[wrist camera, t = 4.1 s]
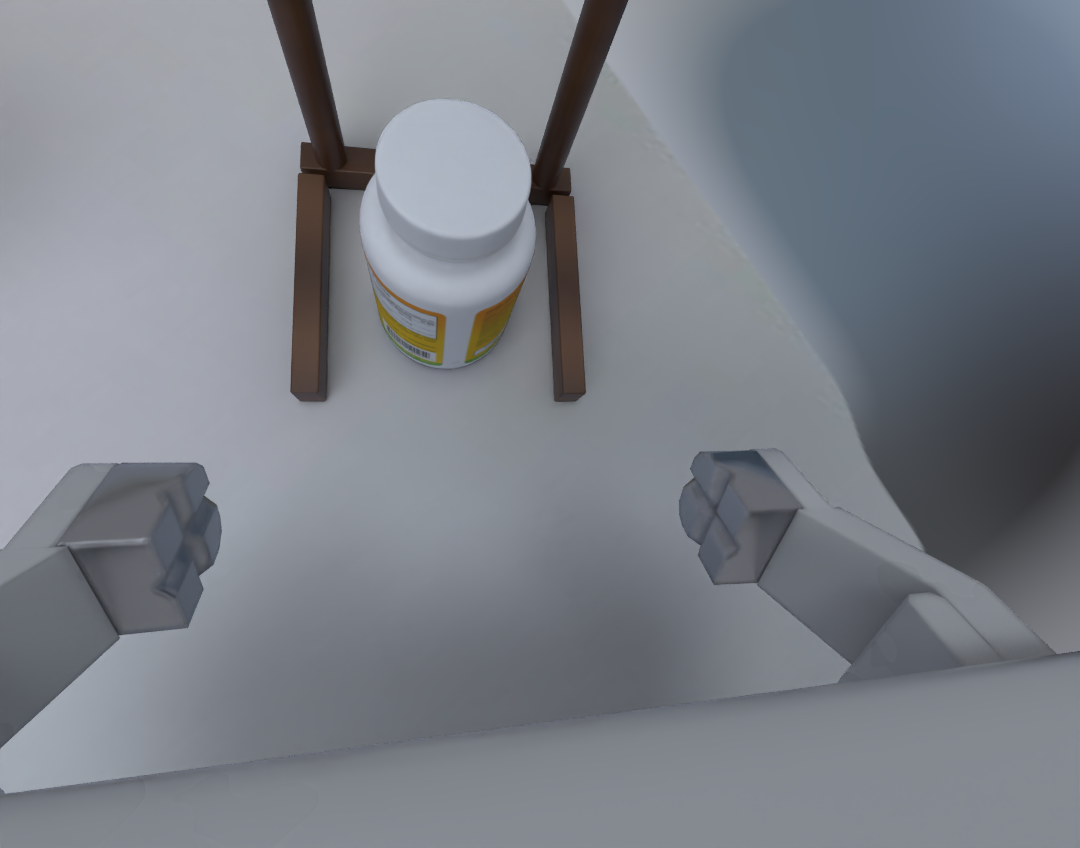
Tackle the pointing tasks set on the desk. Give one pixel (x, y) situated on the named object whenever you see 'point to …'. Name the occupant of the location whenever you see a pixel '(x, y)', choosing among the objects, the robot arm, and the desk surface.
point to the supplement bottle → (447, 230)
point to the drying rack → (356, 166)
